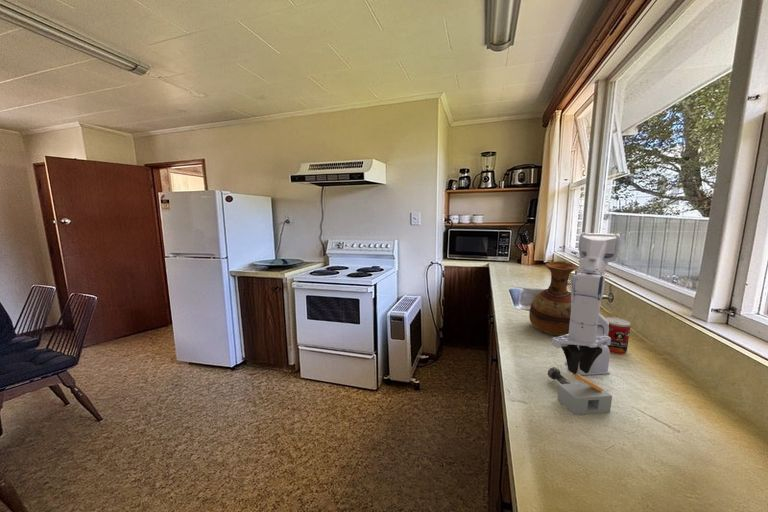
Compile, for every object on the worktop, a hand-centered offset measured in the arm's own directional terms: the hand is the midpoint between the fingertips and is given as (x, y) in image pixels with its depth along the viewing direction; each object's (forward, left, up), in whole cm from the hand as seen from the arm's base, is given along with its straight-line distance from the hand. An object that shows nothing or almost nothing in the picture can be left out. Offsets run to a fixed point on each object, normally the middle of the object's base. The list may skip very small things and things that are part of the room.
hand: (578, 371), depth 75 cm
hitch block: (-3, 0, -10) cm, 10 cm away
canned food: (-39, -28, -10) cm, 49 cm away
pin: (-3, -7, -9) cm, 12 cm away
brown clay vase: (-29, -47, -10) cm, 56 cm away
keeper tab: (-2, 0, -3) cm, 4 cm away
